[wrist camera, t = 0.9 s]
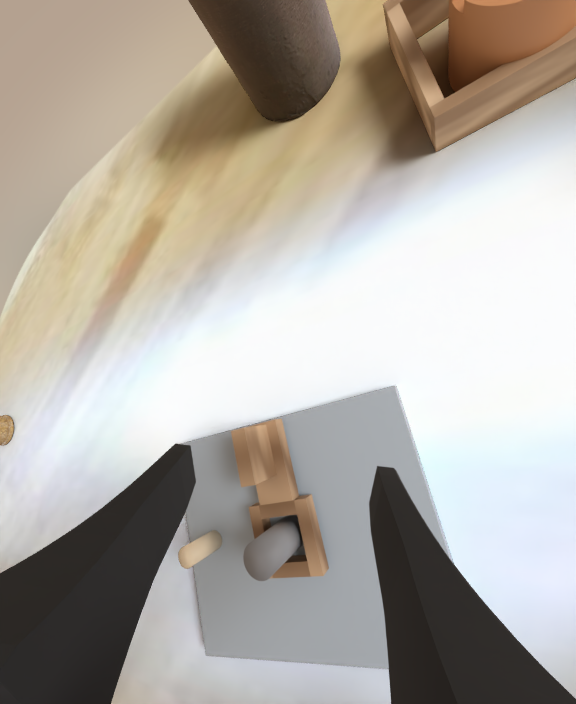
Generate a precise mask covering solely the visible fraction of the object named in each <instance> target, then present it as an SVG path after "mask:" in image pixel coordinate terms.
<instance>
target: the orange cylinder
mask: <svg viewBox="0 0 576 704" xmlns="http://www.w3.org/2000/svg"><path fill="white" fill-rule="evenodd" d="M575 26H576V0H449V56H448V76H449V82H450V85H451V87H452V89H453V90H454V92H457V91H459V90H460V89H462V88H464V87H465V86H467V85H469V84H471V83H472V82H474V81H476V80H477V79H479V78H481V77H482V76H484V75H486V74H488V73H489V72H491V71H493V70H494V69H496V68H498V67H500V66H501V65H503V64H505V63H510V62H514V61H517V60H520V59H523V58H526V57H529V56H531V55H533V54H535V53H538V52H540V51H542V50H543V49H545V48H547V47H549V46H550V45H552V44H553V43H555V42H556V41H558V40H559V39H561V38H562V37H563V36H565V35H566V34H567V33H568V32H569V31H571V30H572V29H573V28H574V27H575Z"/></svg>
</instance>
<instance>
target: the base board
mask: <svg viewBox="0 0 576 704" xmlns="http://www.w3.org/2000/svg"><path fill="white" fill-rule="evenodd" d="M274 419H282V422H283V426H284V431H285V435H286V439H287V444H288V448H289V453H290V457H291V462H292V466H293V471H294V475H295V479H296V484H297V488H298V493H299V496H303V495H309V494H312V498H313V502H314V506H315V511H316V515H317V519H318V523H319V528H320V532H321V536H322V540H323V545H324V549H325V553H326V557H327V562H328V566H329V569H328V570H327V572H326V573H325V575H324V576H316V577H293V578H271V579H269V578H270V577H271V576H272V575H273V574H274V573H275V572H276V571H277V570H278V569H279V568H280V567H281V566H282V565H283V564H284V563H285V562H286V561H287V560H288V559H289V558H290V557H291V556H296V555H306V553H305V548H304V544H303V539H302V535H301V530H300V526H299V521H298V517H297V514H296V515H288V516H280V517H273V518H270V522H271V528H269V529H268V530H266V531H265V532H264V533H262V534H261V535H260V536H258V537H257V538H256V539H254V534H253V528H252V523H251V518H250V512H249V507H250V506H251V505H253V504H255V503H258V502H259V498H258V493H257V488H256V485H252V486H247V487H241V484H240V478H239V473H238V467H237V462H236V456H235V451H234V446H233V440H232V435H231V431H233V430H230V431H226V432H223V433H219V434H215V435H212V436H208V437H204V438H201V439H197V440H193V441H190V442H186V443H182V444H183V445H191V451H192V458H193V465H194V471H195V478H196V484H195V487H194V490H193V493H192V496H191V499H190V501H189V504H188V507H187V509H186V517H187V525H188V532H189V539H190V543H189V544H187V545H186V546H184V547H182V548H181V549H180V551H179V554H178V558H179V562H180V564H181V566H182V567H183V568H185V569H189V568H190V567H192V566H193V568H194V575H195V582H196V589H197V596H198V603H199V611H200V618H201V625H202V632H203V639H204V646H205V654H206V656H216V657H229V658H243V659H256V660H270V661H284V662H297V663H311V664H324V665H338V666H352V667H365V668H379V669H389V664H388V651H387V640H386V628H385V617H384V609H383V601H382V595H381V589H380V583H379V578H378V572H377V566H376V560H375V554H374V548H373V542H372V536H371V527H370V512H369V500H370V496H371V491H372V487H373V482H374V478H375V473H376V469H377V466H382V467H391V468H394V469H395V470H396V471H397V473H398V475H399V477H400V479H401V481H402V483H403V485H404V487H405V488H406V490H407V492H408V494H409V496H410V497H411V499H412V501H413V503H414V504H415V506H416V508H417V509H418V511H419V513H420V514H421V516H422V517H423V519H424V521H425V522H426V524H427V526H428V527H429V529H430V530H431V532H432V533H433V535H434V536H435V538H436V539H437V541H438V542H439V544H440V545H441V547H442V548H443V550H444V551H445V552H446V554H447V555H448V557H449V558H450V559H451V561H452V562H453V560H452V557H451V553H450V550H449V547H448V544H447V541H446V538H445V535H444V532H443V529H442V526H441V523H440V519H439V516H438V513H437V510H436V507H435V504H434V501H433V498H432V495H431V492H430V488H429V485H428V482H427V479H426V476H425V473H424V470H423V467H422V464H421V461H420V458H419V454H418V451H417V448H416V445H415V442H414V439H413V436H412V433H411V430H410V427H409V423H408V420H407V417H406V414H405V411H404V408H403V405H402V402H401V399H400V396H399V393H398V389H397V386H391V387H387V388H384V389H380V390H376V391H373V392H369V393H365V394H362V395H358V396H354V397H351V398H347V399H343V400H340V401H336V402H332V403H329V404H325V405H322V406H318V407H314V408H311V409H307V410H303V411H300V412H296V413H292V414H289V415H285V416H281V417H278V418H274ZM274 419H270V420H267V421H271V420H274ZM267 421H263V422H267ZM263 422H259V423H256V424H260V423H263ZM256 424H252V425H256ZM252 425H248V426H245V427H249V426H252ZM245 427H241V428H245ZM241 428H237V429H241ZM237 429H234V430H237ZM453 564H454V563H453Z"/></svg>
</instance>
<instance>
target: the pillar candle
mask: <svg viewBox="0 0 576 704" xmlns="http://www.w3.org/2000/svg"><path fill="white" fill-rule="evenodd" d="M189 2H190V4H191V5H192V7H193V8H194V10H195V12H196V13H197V15H198V16H199V18H200V20H201V21H202V23H203V24H204V26H205V27H206V29H207V31H208V32H209V34H210V35H211V37H212V39H213V40H214V42H215V44H216V45H217V47H218V48H219V50H220V52H221V53H222V55H223V57H224V58H225V60H226V61H227V63H228V64H229V66H230V67H231V69H232V70H233V72H234V73H235V75H236V77H237V78H238V80H239V82H240V83H241V85H242V87H243V88H244V90H245V91H246V93H247V94H248V96H249V97H250V99H251V101H252V102H253V104H254V106H255V107H256V109H257V110H258V111H259V112H260V113H261V115H262V116H264V117H265V118H266V119H269V120H271V121H285V120H289V119H293V118H296V117H299V116H301V115H302V114H304V113H305V112H307V111H309V110H310V109H311V108H312V107H313V106H314V105H315V104H317V103H318V102H319V101H320V99H321V98H322V97H323V96H324V95H325V94H326V92H327V91H328V90H329V88H330V86H331V85H332V83H333V81H334V79H335V77H336V75H337V72H338V69H339V66H340V49H339V45H338V41H337V38H336V34H335V31H334V28H333V25H332V21H331V18H330V14H329V11H328V8H327V4H326V1H325V0H189Z"/></svg>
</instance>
